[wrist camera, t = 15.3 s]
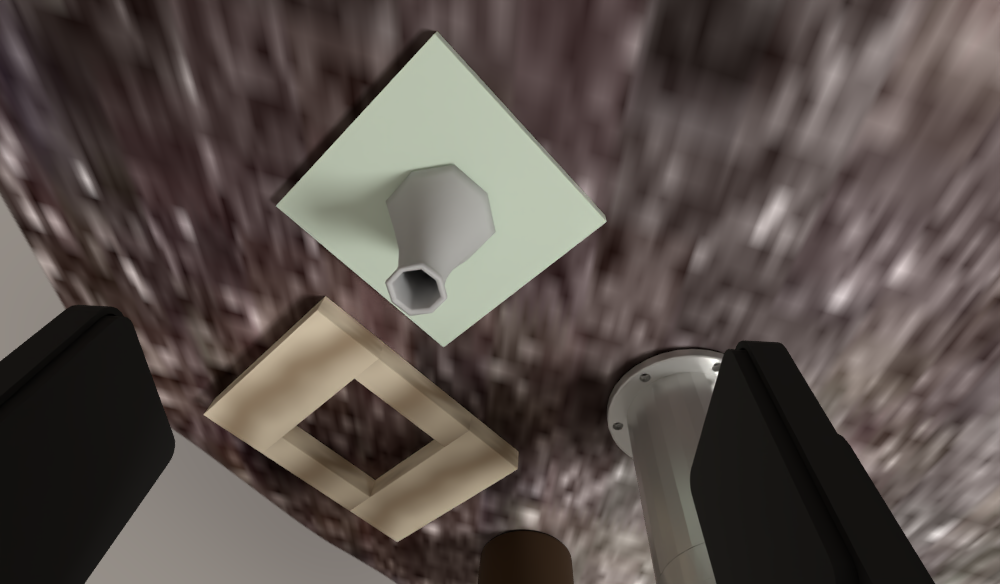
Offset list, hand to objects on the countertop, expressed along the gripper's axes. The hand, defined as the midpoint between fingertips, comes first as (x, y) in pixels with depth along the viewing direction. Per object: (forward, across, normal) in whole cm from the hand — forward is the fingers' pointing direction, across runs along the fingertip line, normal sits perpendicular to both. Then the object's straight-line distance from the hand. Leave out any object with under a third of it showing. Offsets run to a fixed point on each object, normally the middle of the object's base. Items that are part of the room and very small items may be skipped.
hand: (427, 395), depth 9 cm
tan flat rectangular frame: (+30, +11, +31) cm, 45 cm away
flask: (+30, +4, +10) cm, 31 cm away
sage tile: (+30, +4, +10) cm, 32 cm away
